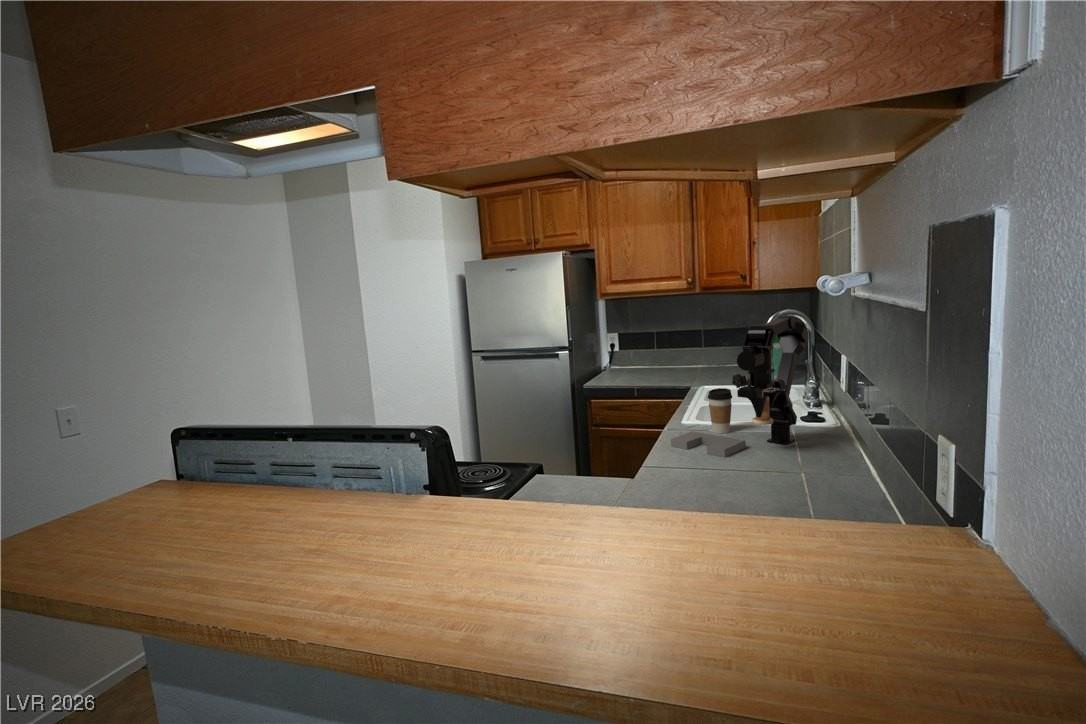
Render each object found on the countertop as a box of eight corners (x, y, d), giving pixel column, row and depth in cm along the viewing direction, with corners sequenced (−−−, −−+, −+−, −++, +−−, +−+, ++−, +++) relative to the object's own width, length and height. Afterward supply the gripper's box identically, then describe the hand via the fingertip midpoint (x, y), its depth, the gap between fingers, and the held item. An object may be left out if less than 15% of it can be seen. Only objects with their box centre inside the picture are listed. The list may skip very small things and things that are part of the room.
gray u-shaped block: (692, 438, 193) (692, 431, 192) (745, 448, 177) (745, 440, 177) (671, 446, 185) (670, 439, 185) (724, 457, 170) (724, 449, 169)
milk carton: (764, 379, 290) (763, 332, 287) (780, 378, 291) (779, 330, 288) (773, 382, 281) (772, 333, 278) (790, 380, 282) (789, 331, 279)
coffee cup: (737, 430, 199) (736, 388, 197) (727, 435, 193) (725, 393, 191) (715, 427, 204) (714, 387, 202) (704, 432, 198) (703, 391, 196)
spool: (758, 419, 176) (758, 394, 175) (776, 421, 171) (776, 396, 170) (748, 423, 172) (747, 397, 171) (767, 425, 167) (766, 399, 166)
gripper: (752, 360, 181) (753, 407, 183) (720, 368, 169) (722, 418, 171) (786, 362, 173) (786, 411, 175) (755, 370, 161) (756, 423, 163)
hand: (762, 415), depth 171 cm, fingers closed on spool, 4 cm apart
